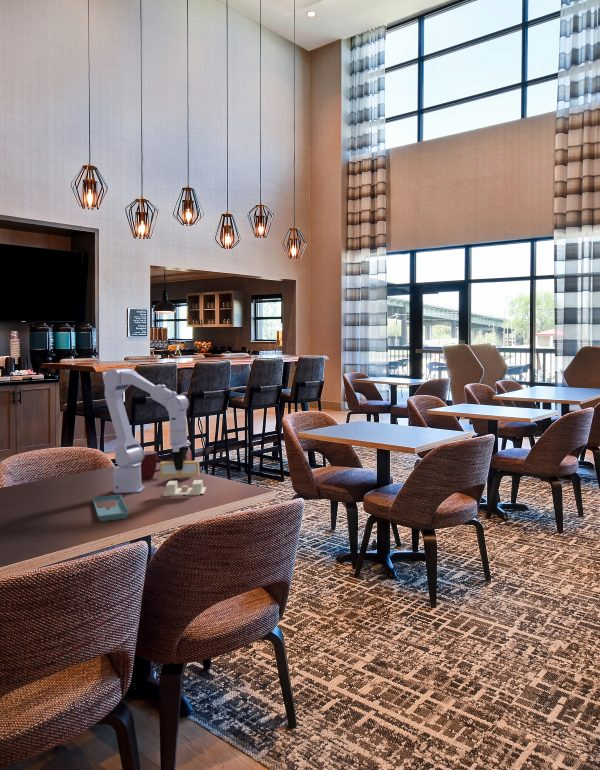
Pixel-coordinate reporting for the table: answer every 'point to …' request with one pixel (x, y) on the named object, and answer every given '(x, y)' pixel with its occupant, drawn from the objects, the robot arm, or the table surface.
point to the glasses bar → (187, 471)
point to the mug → (149, 464)
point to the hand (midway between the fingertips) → (179, 468)
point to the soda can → (188, 458)
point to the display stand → (184, 489)
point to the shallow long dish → (111, 509)
